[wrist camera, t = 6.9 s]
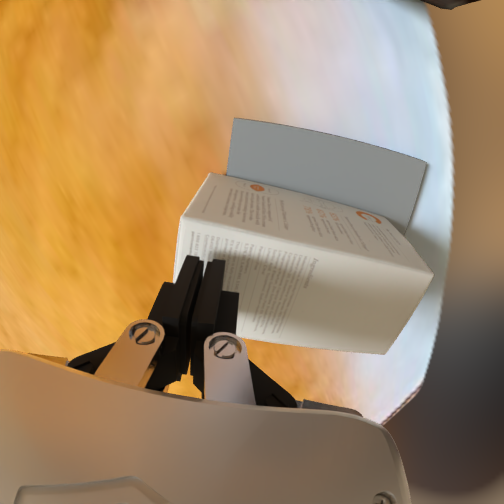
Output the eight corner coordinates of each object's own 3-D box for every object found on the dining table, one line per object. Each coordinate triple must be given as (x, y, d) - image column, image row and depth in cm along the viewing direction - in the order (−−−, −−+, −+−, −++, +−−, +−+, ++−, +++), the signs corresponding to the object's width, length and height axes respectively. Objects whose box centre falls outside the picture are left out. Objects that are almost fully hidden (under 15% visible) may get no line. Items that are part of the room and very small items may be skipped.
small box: (167, 325, 15) (386, 358, 16) (177, 214, 12) (439, 273, 13) (195, 251, 22) (355, 284, 23) (209, 169, 19) (386, 214, 20)
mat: (234, 117, 18) (233, 118, 17) (421, 160, 19) (426, 162, 18) (213, 301, 25) (212, 307, 24) (365, 317, 26) (367, 322, 25)
